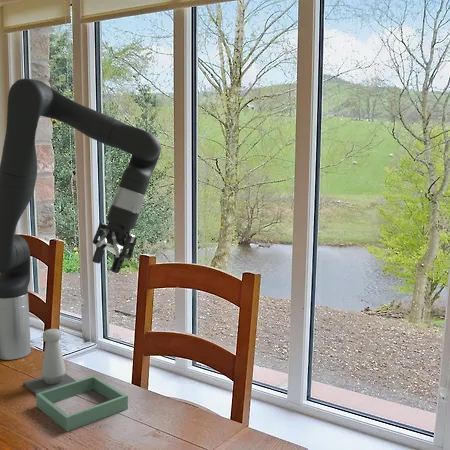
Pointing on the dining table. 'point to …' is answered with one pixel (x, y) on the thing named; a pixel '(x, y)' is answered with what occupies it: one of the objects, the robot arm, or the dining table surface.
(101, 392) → the square frame
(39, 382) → the rubber mat
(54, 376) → the salt shaker
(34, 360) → the dining table surface
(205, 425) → the dining table surface
